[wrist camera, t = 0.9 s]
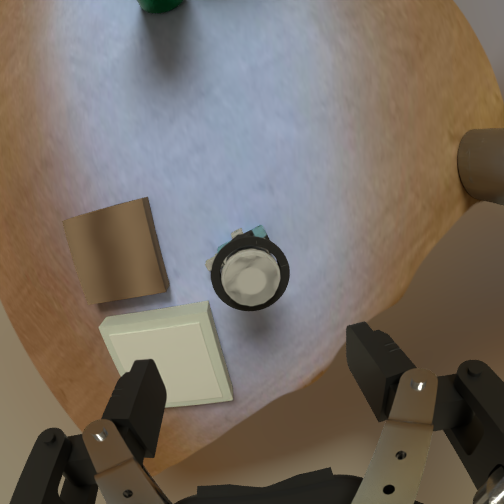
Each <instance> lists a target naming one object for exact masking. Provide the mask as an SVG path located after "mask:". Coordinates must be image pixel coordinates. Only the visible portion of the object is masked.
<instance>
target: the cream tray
mask: <svg viewBox="0 0 504 504" xmlns="http://www.w3.org/2000/svg"><path fill="white" fill-rule="evenodd" d="M99 330H100V332H101V335H102V337H103V339H104V341H105V344H106V346H107V348H108V350H109V353H110V355H111V357H112V359H113V361H114V363H115V365H116V367H117V369H118V372H119V374H120V376H121V377H122V376H123V375H124V374H125V373H126V372H130V370H131V367H132V365H133V363H134V361H135V360H143V359H153V360H154V362H155V364H156V366H157V368H158V371H159V373H160V376H161V378H162V380H163V383H164V385H165V388H166V392H167V400H166V405H165V407H178V406H189V405H199V404H208V403H216V402H224V401H231V400H233V386H232V383H231V380H230V376H229V373H228V370H227V366H226V363H225V359H224V356H223V352H222V349H221V345H220V342H219V338H218V334H217V331H216V327H215V323H214V320H213V316H212V312H211V308H210V305H209V301H203V302H197V303H192V304H186V305H180V306H174V307H168V308H161V309H155V310H149V311H142V312H136V313H129V314H122V315H115V316H108V317H106V318H105V319H104V321H103V322H102V323H101V325H100V326H99Z"/></svg>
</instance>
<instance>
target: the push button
mask: <svg viewBox="0 0 504 504" xmlns="http://www.w3.org/2000/svg"><path fill="white" fill-rule="evenodd" d="M237 231H238V232H237ZM235 232H236V233H235ZM231 237H232V240H231V241H229V242H227V243H225V244H223V245H221V246H220V247H218V252H217V254H215V256H214V257H212V258H210V259H208V260H207V261H206V264H205V266H206V267H207V269H208V271H210V270H211V281H212V285H213V288H214V290H215V292H216V294H217V295H218V297H219V298H220V299H221V300H222V301H223V302H224V303H226V304H227V305H229V306H230V307H232V308H235V309H238V310H242V311H257V310H261V309H264V308H266V307H269V306H270V305H272V304H273V303H275V302H276V301H277V300H278V299H279V298H280V297H281V296H282V295H283V293H284V292H285V290H286V288H287V285H288V282H289V276H290V270H289V264H288V261H287V259H286V257H285V255H284V253H283V252H282V251H281V249H280V248H279V247H278V246H277V245H275V244H274V243H273V242H271V241H270V240H269V238H268V236H267V234H266V232H265V230H264V228H263V226H262V225H259V226H257V227H255V228H254V229H252V230H250V231H248V232H246V233H244V234H243V232H242V228H240V229H238V230H236V231H234V232H232V233H231ZM269 253H272V254H273V255H274V256H275V257H276V259H277V263H276V261H275V259H274V258H273V257H272V256H270V254H269ZM211 260H212V261H211ZM210 263H212V264H210ZM222 266H224V267H223V269H222V277H221V272H220V269H221V267H222Z"/></svg>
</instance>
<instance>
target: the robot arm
mask: <svg viewBox="0 0 504 504" xmlns="http://www.w3.org/2000/svg"><path fill="white" fill-rule="evenodd" d="M458 168H459V174H460V178H461V181H462V183H463V186H464V188H465V189H466V191H467V192H468V193H469V194H470V195H471V196H472V197H474V198H476V199H480V200H484V201H489V202H493V203H497V204H500V205H504V128H490V129H473V130H470V131H468V132H467V133H466V134H465V135H464V137H463V138H462V140H461V143H460V146H459V150H458ZM346 351H347V353H346V357H347V363H348V366H349V369H350V371H351V373H352V374H353V376H354V378H355V380H356V382H357V383H358V385H359V387H360V389H361V391H362V392H363V394H364V396H365V398H366V400H367V402H368V403H369V405H370V407H371V409H372V411H373V412H374V414H375V416H376V418H377V420H378V422H381V421H384V420H386V423H385V426H384V428H383V431H382V434H381V437H380V439H379V442H378V445H377V447H376V450H375V453H374V455H373V458H372V460H371V462H370V465H369V467H368V469H367V472H366V474H365V476H364V478H362V477H357V476H352V475H333V473H332V470H331V467H329V468H325V469H321V470H317V471H313V472H309V473H304V474H299V475H296V476H294V477H291V478H289V479H286V480H284V481H281V482H278V483H276V484H273V485H270V486H267V487H249V486H239V485H230V484H229V485H212V486H198V487H197V494H196V495H193V496H190V497H187V498H184V499H182V500H180V501H178V502H176V503H175V504H423V503H420V502H418V501H415V498H416V495H417V492H418V488H419V485H420V482H421V479H422V475H423V472H424V468H425V464H426V460H427V456H428V452H429V447H430V442H431V438H432V433H433V431H438V430H443V431H444V432H445V434H446V436H447V437H448V439H449V441H450V442H451V444H452V446H453V447H454V449H455V451H456V453H457V454H458V456H459V458H460V459H461V461H462V463H463V465H464V466H465V468H466V470H467V472H468V474H469V475H470V477H471V479H472V481H473V483H474V485H475V487H476V488H477V490H478V491H477V492H476V494H475V496H474V498H473V504H504V382H503V381H502V380H501V379H500V378H499V377H498V376H497V375H496V374H495V373H494V372H493V370H492V369H491V368H490V367H489V366H488V365H487V364H485V363H484V362H482V361H479V360H468V361H465V362H463V363H462V364H461V365H460V366H459V368H458V370H457V374H452V375H446V376H439V377H437V376H436V375H435V374H434V373H433V372H432V371H430V370H428V369H424V368H417V367H416V366H415V365H414V364H413V363H412V362H411V360H410V359H409V358H408V357H407V356H406V355H405V353H404V352H403V351H402V350H401V349H399V346H398V345H397V344H396V343H394V341H393V339H392V338H391V337H390V336H389V335H388V334H386V333H384V332H382V331H380V330H376V331H373V330H372V329H371V328H370V327H369V325H368V324H367V323H366V322H360V323H356V324H353V325H349V326H347V329H346ZM166 400H167V392H166V388H165V385H164V383H163V380H162V378H161V376H160V373H159V371H158V368H157V366H156V364H155V362H154V360H153V359H143V360H135V361H134V363H133V365H132V367H131V370H130V372H126V373H125V374H124V375H123V376H122V377H121V378H120V379H119V380H118V382H117V384H116V386H115V390H113V393H112V397H110V400H109V402H108V404H107V406H106V409H105V411H104V413H103V416H102V418H101V419H99V420H96V421H93V422H91V423H90V424H89V425H87V426H86V428H85V429H84V431H83V434H80V435H74V436H68V437H67V436H66V435H65V434H64V432H63V431H62V430H61V429H59V428H49V429H47V430H45V431H43V432H42V433H41V434H40V435H39V436H38V438H37V440H36V442H35V444H34V446H33V449H32V451H31V453H30V455H29V457H28V460H27V462H26V464H25V467H24V469H23V471H22V474H21V476H20V478H19V481H18V483H17V486H16V488H15V491H14V493H13V496H12V499H11V501H10V504H95V501H96V496H97V492H98V487H99V489H100V491H101V493H102V495H103V496H104V499H105V501H106V503H107V504H172V502H171V501H170V500H169V499H168V498H167V496H166V495H165V494H164V493H163V491H162V490H161V489H160V487H159V486H158V485H157V483H156V482H155V480H154V479H153V478H152V476H151V475H150V473H149V472H148V471H147V469H146V468H145V466H144V465H143V460H144V458H154V457H155V452H156V447H157V442H158V437H159V432H160V428H161V423H162V418H163V414H164V409H165V405H166ZM62 475H63V476H64V477H65V481H64V484H63V488H62V491H61V494H60V497H59V495H58V486H59V483H60V480H61V477H62Z"/></svg>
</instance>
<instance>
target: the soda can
mask: <svg viewBox="0 0 504 504" xmlns="http://www.w3.org/2000/svg"><path fill="white" fill-rule="evenodd" d="M137 1H138V3H139V5H140V7H141V8H142V9H143V10H144V11H146V12H149V13H163V12H167V11H170V10H172V9H174V8H176V7H177V6H178V5H180V4H181V3H182V2H183V0H137Z"/></svg>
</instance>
